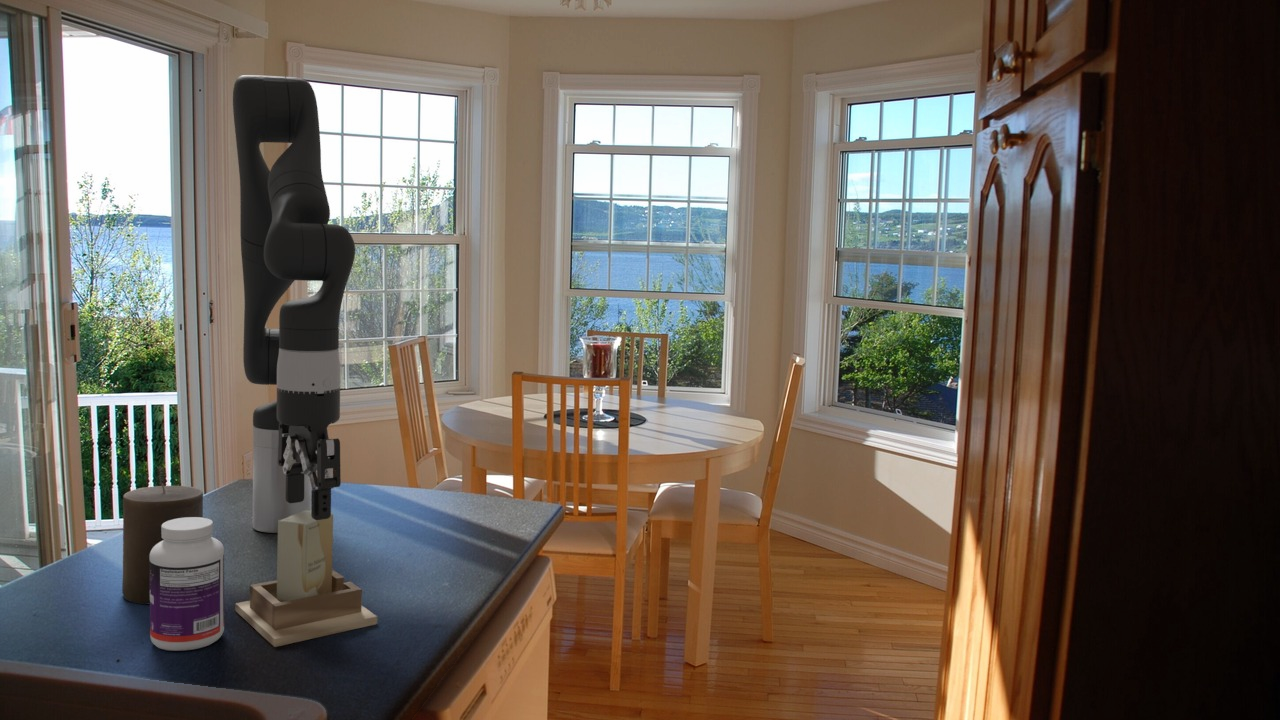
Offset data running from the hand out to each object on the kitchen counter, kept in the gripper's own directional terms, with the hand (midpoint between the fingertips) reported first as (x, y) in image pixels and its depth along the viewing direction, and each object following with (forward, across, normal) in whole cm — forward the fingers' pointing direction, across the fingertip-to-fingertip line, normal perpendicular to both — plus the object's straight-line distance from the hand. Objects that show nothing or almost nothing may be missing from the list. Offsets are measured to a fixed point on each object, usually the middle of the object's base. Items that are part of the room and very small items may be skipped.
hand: (307, 510), depth 123 cm
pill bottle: (+14, 0, -14) cm, 20 cm away
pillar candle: (+14, -19, -12) cm, 27 cm away
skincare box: (+13, 0, 0) cm, 13 cm away
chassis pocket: (+14, 0, 0) cm, 14 cm away
